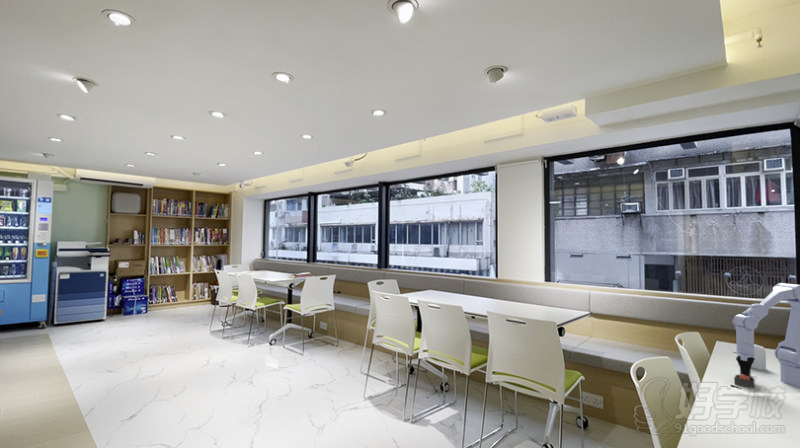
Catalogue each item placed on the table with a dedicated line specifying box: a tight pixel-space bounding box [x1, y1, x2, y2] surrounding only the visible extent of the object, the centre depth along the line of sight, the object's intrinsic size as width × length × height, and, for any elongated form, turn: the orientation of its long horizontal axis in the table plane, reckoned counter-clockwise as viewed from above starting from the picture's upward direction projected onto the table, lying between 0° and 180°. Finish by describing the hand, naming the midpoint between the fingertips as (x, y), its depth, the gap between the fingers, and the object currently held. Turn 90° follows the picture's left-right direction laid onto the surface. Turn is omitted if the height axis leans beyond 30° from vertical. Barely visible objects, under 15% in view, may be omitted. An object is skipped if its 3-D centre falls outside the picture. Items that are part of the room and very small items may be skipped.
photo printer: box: [737, 343, 767, 371], centre depth 185 cm, size 10×4×12 cm, turn 39°
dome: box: [739, 375, 751, 381], centre depth 158 cm, size 4×4×4 cm
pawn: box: [737, 368, 753, 378], centre depth 163 cm, size 5×5×7 cm
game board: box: [730, 373, 758, 390], centre depth 165 cm, size 26×8×4 cm, turn 133°
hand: (745, 374), depth 163 cm, fingers closed on pawn, 3 cm apart
